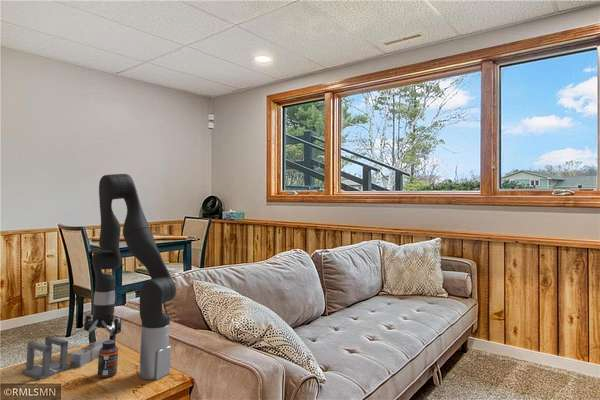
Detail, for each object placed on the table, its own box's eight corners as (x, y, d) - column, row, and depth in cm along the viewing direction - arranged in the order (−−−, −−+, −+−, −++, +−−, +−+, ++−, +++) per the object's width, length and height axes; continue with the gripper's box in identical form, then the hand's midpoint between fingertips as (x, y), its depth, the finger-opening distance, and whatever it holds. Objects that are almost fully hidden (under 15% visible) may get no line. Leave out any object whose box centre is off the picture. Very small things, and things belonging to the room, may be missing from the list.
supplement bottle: (108, 379, 127) (110, 345, 127) (93, 377, 128) (95, 343, 128) (120, 372, 132) (122, 339, 133) (105, 370, 134) (107, 337, 134)
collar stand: (51, 362, 138) (53, 335, 138) (69, 368, 134) (71, 340, 134) (22, 373, 128) (23, 343, 129) (40, 380, 124) (42, 349, 125)
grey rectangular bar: (111, 350, 152) (112, 338, 152) (80, 367, 135) (81, 354, 135) (102, 349, 152) (102, 337, 152) (69, 366, 135) (70, 353, 135)
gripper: (81, 302, 147) (78, 344, 147) (114, 306, 145) (112, 348, 145) (94, 297, 155) (91, 337, 154) (126, 301, 153) (124, 341, 152)
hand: (101, 342), depth 150 cm, fingers open, 8 cm apart
